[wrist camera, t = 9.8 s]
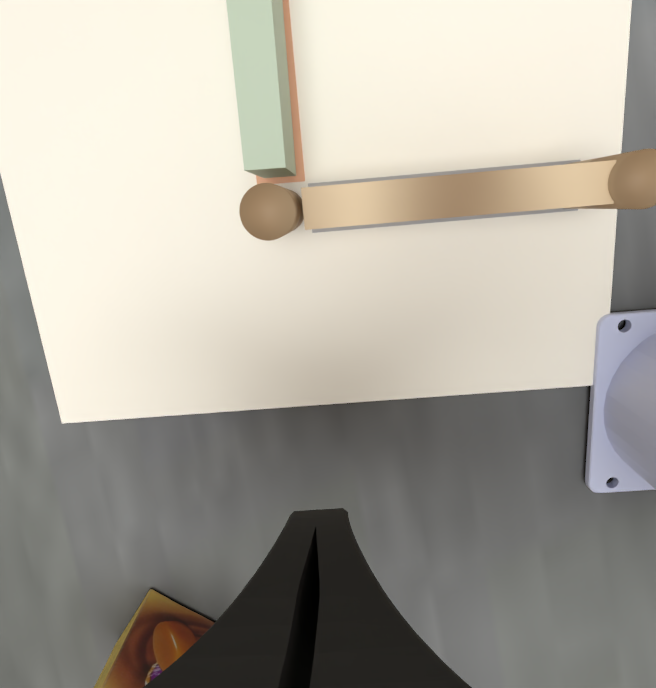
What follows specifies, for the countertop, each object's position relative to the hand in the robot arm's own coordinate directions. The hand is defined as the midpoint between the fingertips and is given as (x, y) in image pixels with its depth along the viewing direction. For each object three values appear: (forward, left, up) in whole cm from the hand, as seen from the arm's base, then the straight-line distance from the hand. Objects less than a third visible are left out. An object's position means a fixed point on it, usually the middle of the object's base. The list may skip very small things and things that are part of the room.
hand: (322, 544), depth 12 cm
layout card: (0, -10, -9) cm, 14 cm away
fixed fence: (-4, -8, -9) cm, 13 cm away
